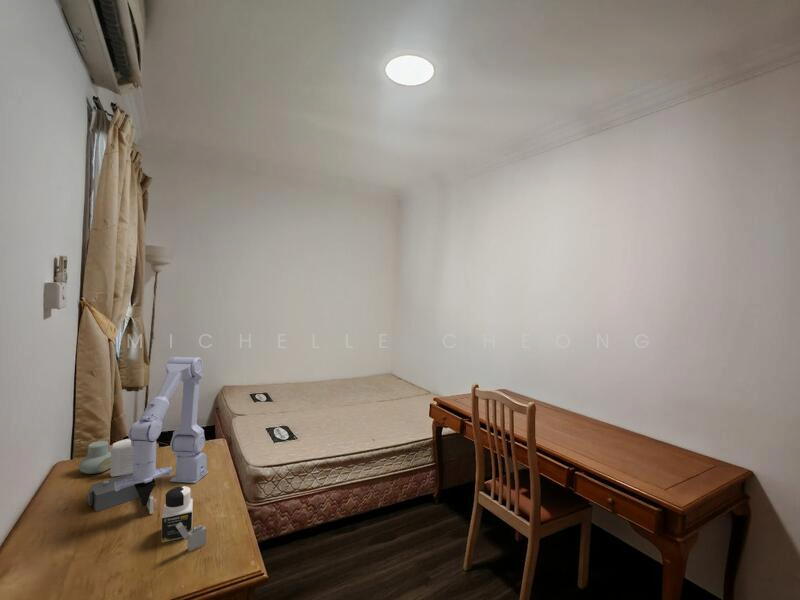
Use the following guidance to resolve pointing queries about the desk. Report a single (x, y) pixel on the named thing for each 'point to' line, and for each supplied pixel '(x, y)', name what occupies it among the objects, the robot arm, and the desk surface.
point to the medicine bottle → (177, 512)
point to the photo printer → (121, 458)
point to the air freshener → (96, 458)
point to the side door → (151, 503)
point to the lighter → (193, 536)
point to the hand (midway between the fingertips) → (144, 505)
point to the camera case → (110, 494)
